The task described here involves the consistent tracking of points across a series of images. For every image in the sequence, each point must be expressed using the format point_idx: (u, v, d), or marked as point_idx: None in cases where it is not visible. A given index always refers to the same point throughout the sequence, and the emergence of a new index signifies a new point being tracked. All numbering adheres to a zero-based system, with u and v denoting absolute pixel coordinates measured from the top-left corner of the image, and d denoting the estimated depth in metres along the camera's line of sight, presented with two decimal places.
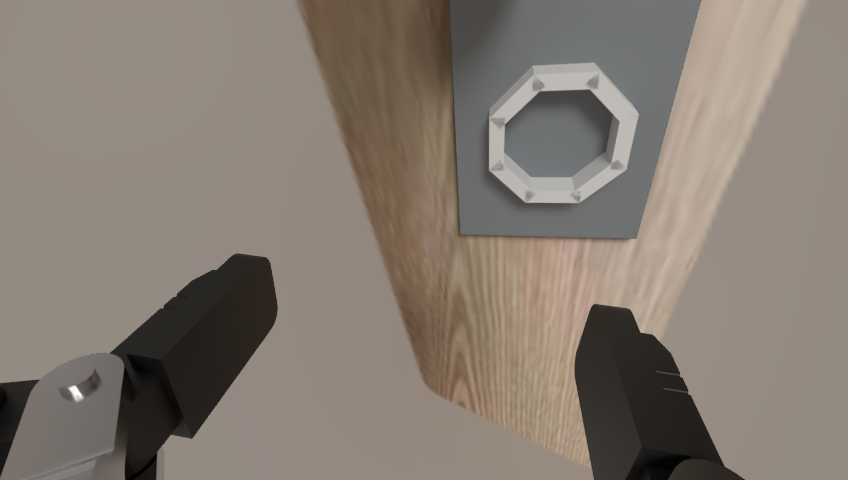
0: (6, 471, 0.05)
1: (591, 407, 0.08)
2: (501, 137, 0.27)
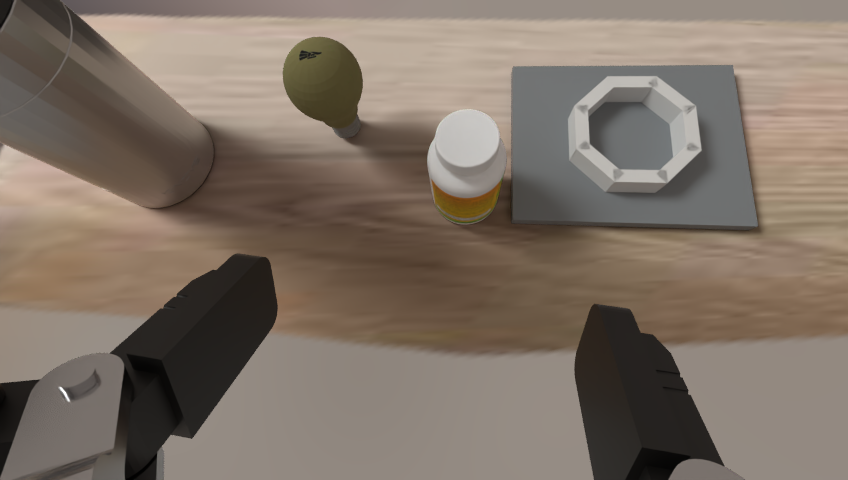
0: (6, 471, 0.05)
1: (591, 407, 0.08)
2: (632, 172, 0.30)
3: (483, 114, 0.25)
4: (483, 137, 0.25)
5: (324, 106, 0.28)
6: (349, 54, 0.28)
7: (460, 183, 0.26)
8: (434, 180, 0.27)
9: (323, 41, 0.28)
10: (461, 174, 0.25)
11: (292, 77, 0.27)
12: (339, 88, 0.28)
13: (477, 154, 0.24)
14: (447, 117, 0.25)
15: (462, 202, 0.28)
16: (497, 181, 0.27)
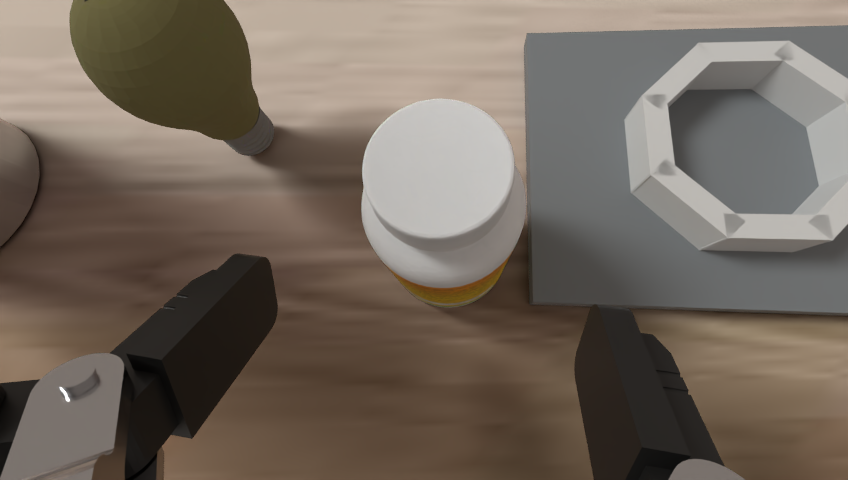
0: (5, 471, 0.05)
1: (591, 407, 0.08)
2: (760, 218, 0.16)
3: (475, 110, 0.11)
4: (476, 164, 0.10)
5: (155, 99, 0.14)
6: None
7: (427, 262, 0.12)
8: (375, 251, 0.13)
9: None
10: (426, 249, 0.11)
11: (76, 38, 0.13)
12: (179, 61, 0.13)
13: (461, 207, 0.10)
14: (392, 118, 0.11)
15: (435, 291, 0.14)
16: (507, 254, 0.13)
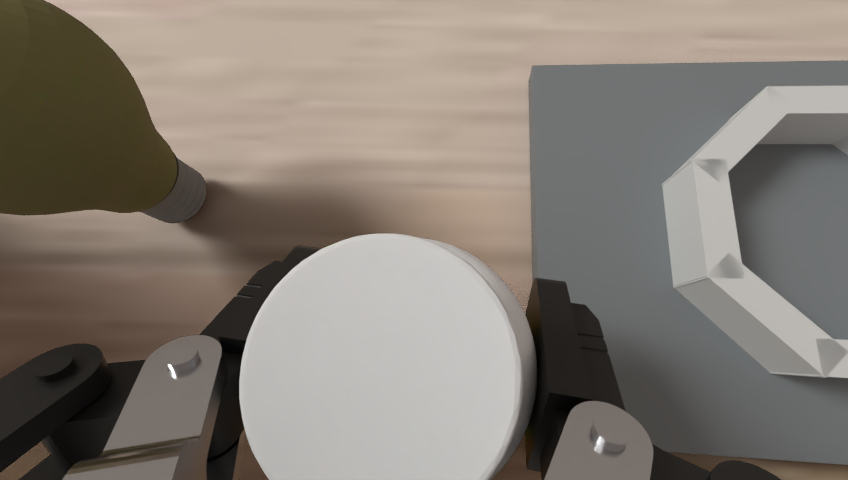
0: (113, 436, 0.06)
1: None
2: None
3: (449, 261, 0.06)
4: (448, 373, 0.06)
5: None
6: (48, 30, 0.09)
7: None
8: None
9: None
10: None
11: None
12: None
13: (418, 466, 0.05)
14: (299, 271, 0.06)
15: None
16: (507, 460, 0.08)
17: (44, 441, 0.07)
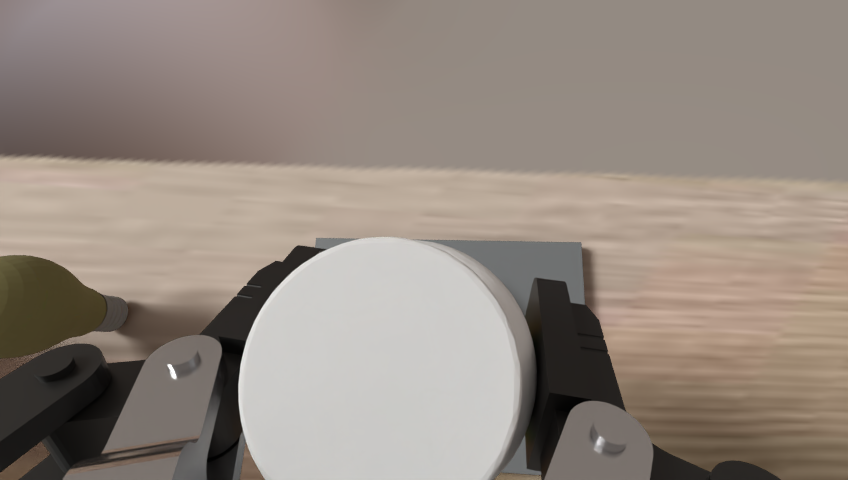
0: (113, 436, 0.06)
1: None
2: None
3: (448, 264, 0.06)
4: (447, 376, 0.06)
5: None
6: (32, 284, 0.21)
7: None
8: None
9: None
10: None
11: None
12: (9, 337, 0.21)
13: (418, 470, 0.05)
14: (299, 274, 0.06)
15: None
16: None
17: (44, 441, 0.07)
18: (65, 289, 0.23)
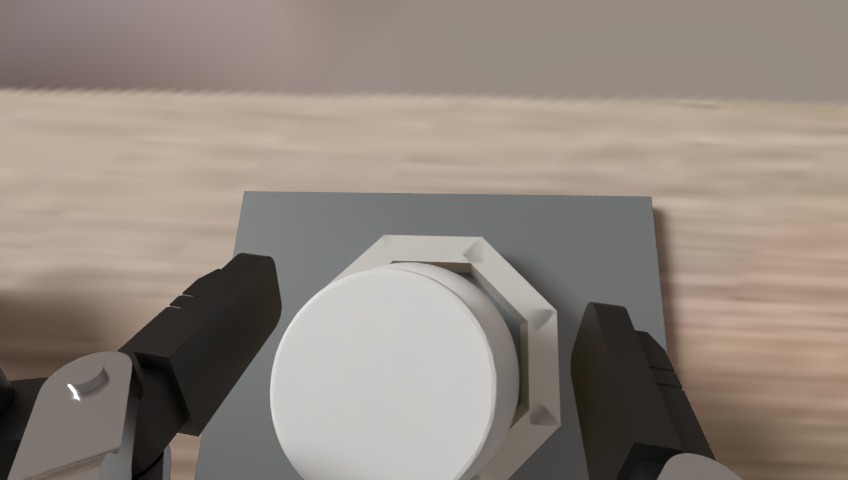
0: (15, 467, 0.05)
1: (586, 404, 0.09)
2: None
3: (439, 292, 0.07)
4: (438, 384, 0.07)
5: None
6: None
7: None
8: None
9: None
10: None
11: None
12: None
13: (414, 459, 0.07)
14: (317, 300, 0.07)
15: None
16: (492, 456, 0.09)
17: None
18: None
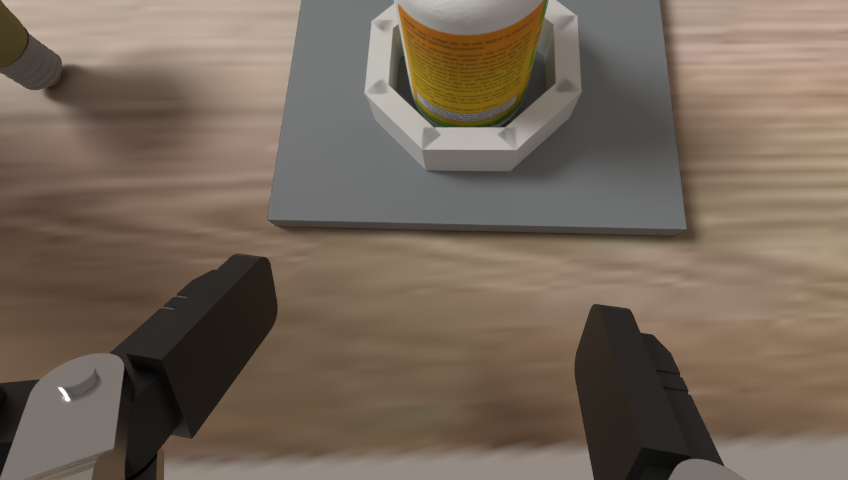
0: (6, 471, 0.05)
1: (591, 407, 0.08)
2: (455, 131, 0.17)
3: None
4: None
5: None
6: None
7: None
8: None
9: None
10: None
11: None
12: None
13: None
14: None
15: (463, 56, 0.13)
16: None
17: None
18: None
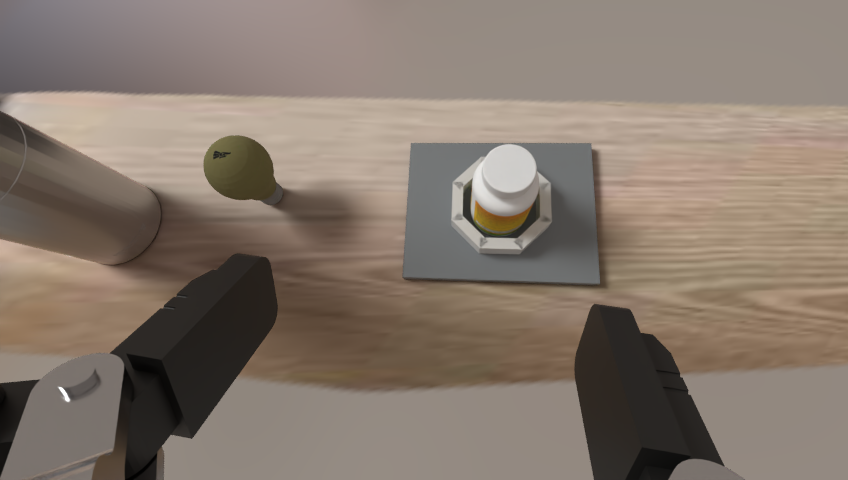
0: (6, 471, 0.05)
1: (591, 407, 0.08)
2: (494, 240, 0.37)
3: (522, 148, 0.31)
4: (523, 167, 0.30)
5: (236, 192, 0.35)
6: (257, 150, 0.35)
7: (502, 204, 0.32)
8: (479, 201, 0.33)
9: (234, 142, 0.34)
10: (504, 198, 0.31)
11: (208, 171, 0.34)
12: (247, 179, 0.34)
13: (518, 182, 0.30)
14: (492, 151, 0.31)
15: (501, 219, 0.34)
16: (532, 202, 0.32)
17: None
18: (269, 158, 0.36)
